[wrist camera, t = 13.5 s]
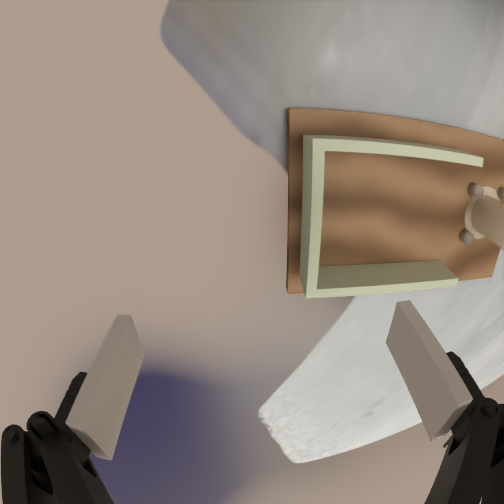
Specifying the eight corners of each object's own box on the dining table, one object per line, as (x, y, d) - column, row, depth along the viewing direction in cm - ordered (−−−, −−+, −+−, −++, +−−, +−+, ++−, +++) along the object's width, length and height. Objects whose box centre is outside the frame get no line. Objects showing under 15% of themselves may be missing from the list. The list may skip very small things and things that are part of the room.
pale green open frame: (302, 134, 26) (312, 138, 22) (459, 149, 26) (483, 157, 22) (299, 274, 33) (305, 298, 29) (438, 267, 33) (456, 285, 29)
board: (287, 108, 26) (291, 108, 24) (511, 143, 26) (526, 147, 24) (286, 286, 35) (289, 301, 33) (486, 272, 35) (496, 282, 32)
